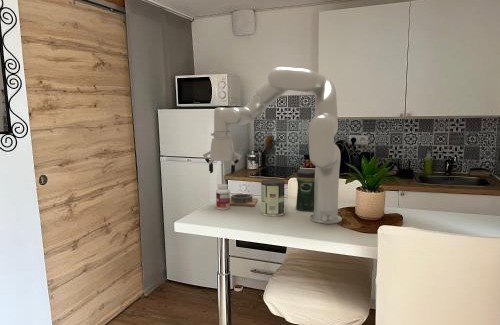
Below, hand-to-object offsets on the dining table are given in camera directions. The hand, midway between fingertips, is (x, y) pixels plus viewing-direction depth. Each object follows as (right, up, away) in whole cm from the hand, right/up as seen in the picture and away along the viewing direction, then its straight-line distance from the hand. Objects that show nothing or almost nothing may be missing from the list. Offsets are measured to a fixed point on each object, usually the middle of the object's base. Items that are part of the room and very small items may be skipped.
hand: (222, 173), depth 166 cm
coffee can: (+23, -17, -7) cm, 29 cm away
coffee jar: (+38, -17, 0) cm, 42 cm away
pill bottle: (0, -16, +2) cm, 17 cm away
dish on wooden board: (+9, -15, +13) cm, 21 cm away
